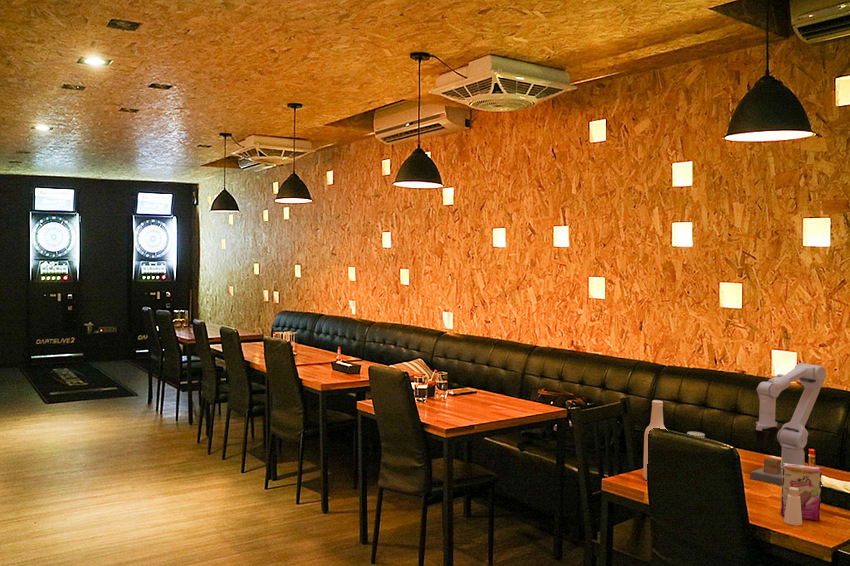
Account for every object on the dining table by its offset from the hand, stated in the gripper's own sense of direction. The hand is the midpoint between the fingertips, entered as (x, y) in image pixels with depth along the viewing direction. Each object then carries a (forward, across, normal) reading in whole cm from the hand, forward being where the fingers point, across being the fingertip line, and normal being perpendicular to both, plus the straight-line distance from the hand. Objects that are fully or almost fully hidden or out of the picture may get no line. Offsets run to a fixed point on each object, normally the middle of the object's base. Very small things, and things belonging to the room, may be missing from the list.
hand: (765, 446), depth 278 cm
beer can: (+11, +26, -16) cm, 32 cm away
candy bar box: (+11, +44, +30) cm, 54 cm away
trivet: (+10, +8, +6) cm, 14 cm away
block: (+8, +8, +6) cm, 12 cm away
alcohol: (+11, +46, -21) cm, 51 cm away
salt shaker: (+11, +52, +31) cm, 61 cm away
